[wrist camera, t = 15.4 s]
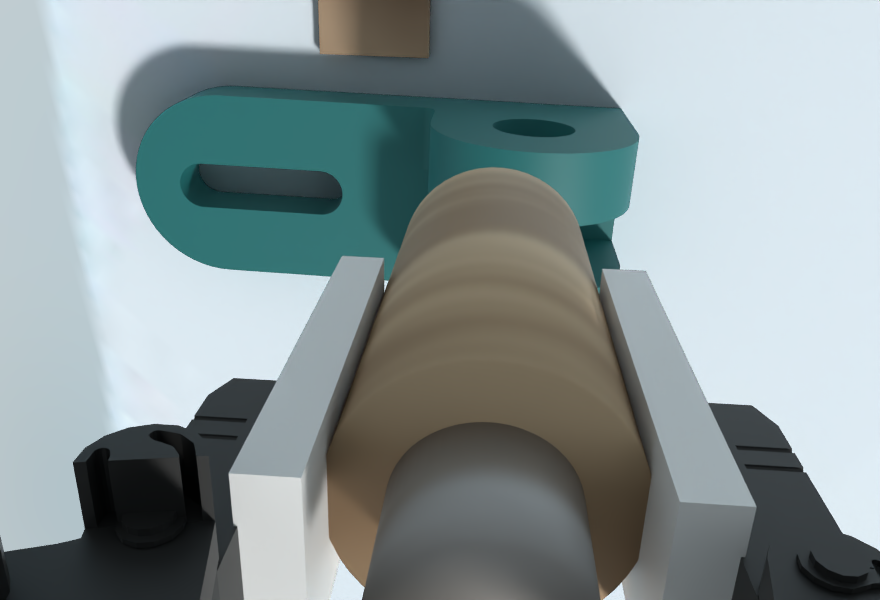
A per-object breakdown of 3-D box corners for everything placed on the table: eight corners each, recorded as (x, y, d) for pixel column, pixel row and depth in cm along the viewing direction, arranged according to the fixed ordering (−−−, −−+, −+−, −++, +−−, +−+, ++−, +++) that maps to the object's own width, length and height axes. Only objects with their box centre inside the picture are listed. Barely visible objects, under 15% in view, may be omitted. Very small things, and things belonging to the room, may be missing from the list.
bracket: (620, 107, 30) (655, 159, 23) (597, 273, 33) (623, 366, 26) (151, 80, 31) (44, 122, 24) (167, 244, 34) (76, 325, 27)
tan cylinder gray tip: (411, 157, 17) (279, 439, 7) (597, 177, 17) (736, 493, 7) (397, 326, 19) (274, 753, 9) (568, 345, 19) (646, 801, 8)
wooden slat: (314, -199, 26) (311, -201, 26) (434, -196, 26) (433, -198, 26) (336, 488, 38) (334, 494, 38) (419, 494, 38) (419, 500, 37)
